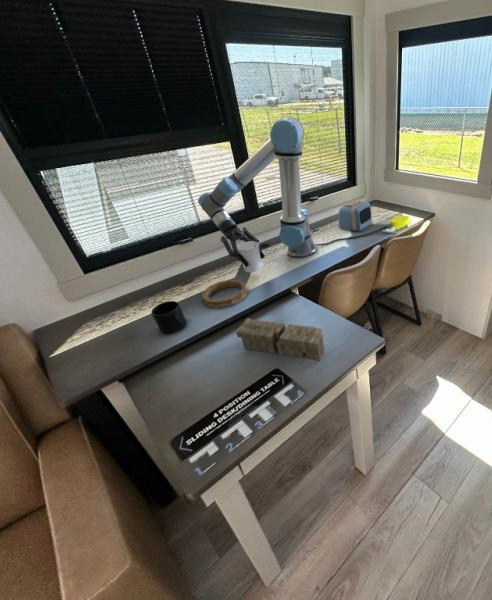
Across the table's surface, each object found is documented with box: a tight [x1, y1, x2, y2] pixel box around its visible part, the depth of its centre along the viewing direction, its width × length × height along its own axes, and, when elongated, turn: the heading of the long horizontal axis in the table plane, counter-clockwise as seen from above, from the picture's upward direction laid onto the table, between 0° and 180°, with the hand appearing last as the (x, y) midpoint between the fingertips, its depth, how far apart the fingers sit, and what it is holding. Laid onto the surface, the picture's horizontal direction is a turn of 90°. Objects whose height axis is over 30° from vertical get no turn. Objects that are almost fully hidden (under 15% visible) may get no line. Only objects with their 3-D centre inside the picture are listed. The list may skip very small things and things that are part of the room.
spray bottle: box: [382, 214, 411, 234], centre depth 194 cm, size 3×11×24 cm
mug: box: [150, 300, 188, 335], centre depth 119 cm, size 9×12×9 cm
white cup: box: [236, 241, 263, 273], centre depth 149 cm, size 10×10×12 cm
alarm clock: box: [338, 199, 373, 232], centre depth 195 cm, size 16×16×16 cm
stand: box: [202, 279, 248, 309], centre depth 138 cm, size 18×18×3 cm
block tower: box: [235, 317, 325, 361], centre depth 106 cm, size 8×8×29 cm
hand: (255, 261), depth 148 cm, fingers closed on white cup, 9 cm apart
